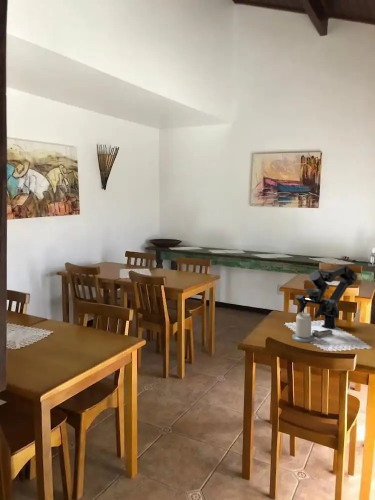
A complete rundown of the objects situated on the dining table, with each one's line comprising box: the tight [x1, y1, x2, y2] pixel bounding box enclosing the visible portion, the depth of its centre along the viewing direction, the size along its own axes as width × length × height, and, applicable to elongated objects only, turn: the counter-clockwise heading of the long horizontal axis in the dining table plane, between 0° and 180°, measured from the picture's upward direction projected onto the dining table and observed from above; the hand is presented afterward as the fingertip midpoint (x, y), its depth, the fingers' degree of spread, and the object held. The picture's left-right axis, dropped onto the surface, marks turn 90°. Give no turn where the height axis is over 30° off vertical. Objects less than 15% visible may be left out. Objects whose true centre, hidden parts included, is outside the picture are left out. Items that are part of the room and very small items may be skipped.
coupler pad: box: [291, 332, 315, 343], centre depth 211 cm, size 11×11×1 cm
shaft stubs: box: [311, 329, 333, 338], centre depth 218 cm, size 10×19×3 cm, turn 48°
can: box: [295, 312, 312, 338], centre depth 210 cm, size 8×8×12 cm
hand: (307, 315), depth 211 cm, fingers open, 9 cm apart
